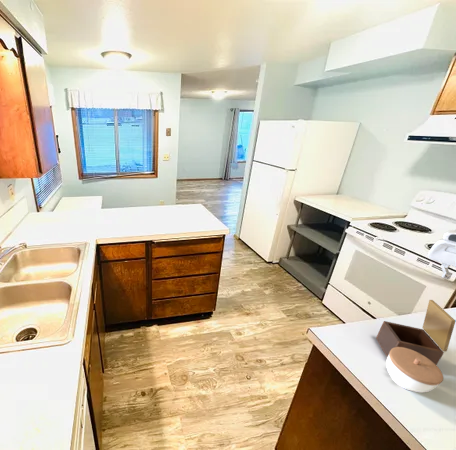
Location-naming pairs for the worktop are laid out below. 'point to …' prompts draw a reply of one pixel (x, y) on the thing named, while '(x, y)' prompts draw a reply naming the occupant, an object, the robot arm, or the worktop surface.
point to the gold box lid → (438, 325)
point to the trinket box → (413, 370)
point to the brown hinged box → (408, 340)
